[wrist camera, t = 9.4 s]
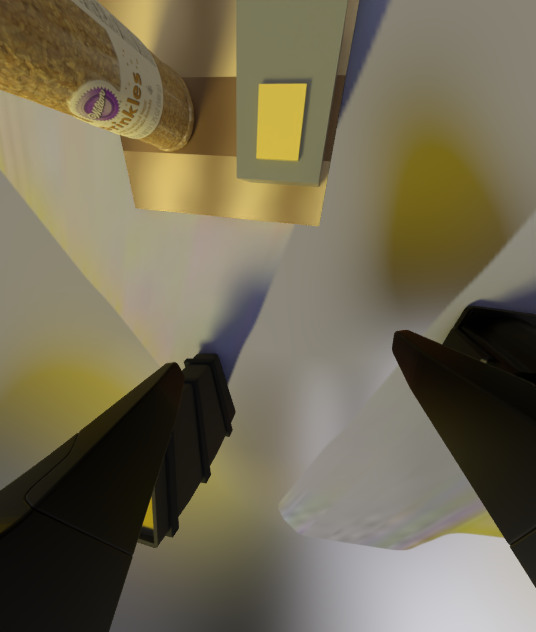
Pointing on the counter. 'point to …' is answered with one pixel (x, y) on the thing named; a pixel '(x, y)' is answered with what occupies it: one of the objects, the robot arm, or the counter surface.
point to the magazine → (189, 446)
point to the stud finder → (285, 87)
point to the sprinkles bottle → (92, 70)
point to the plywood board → (212, 118)
